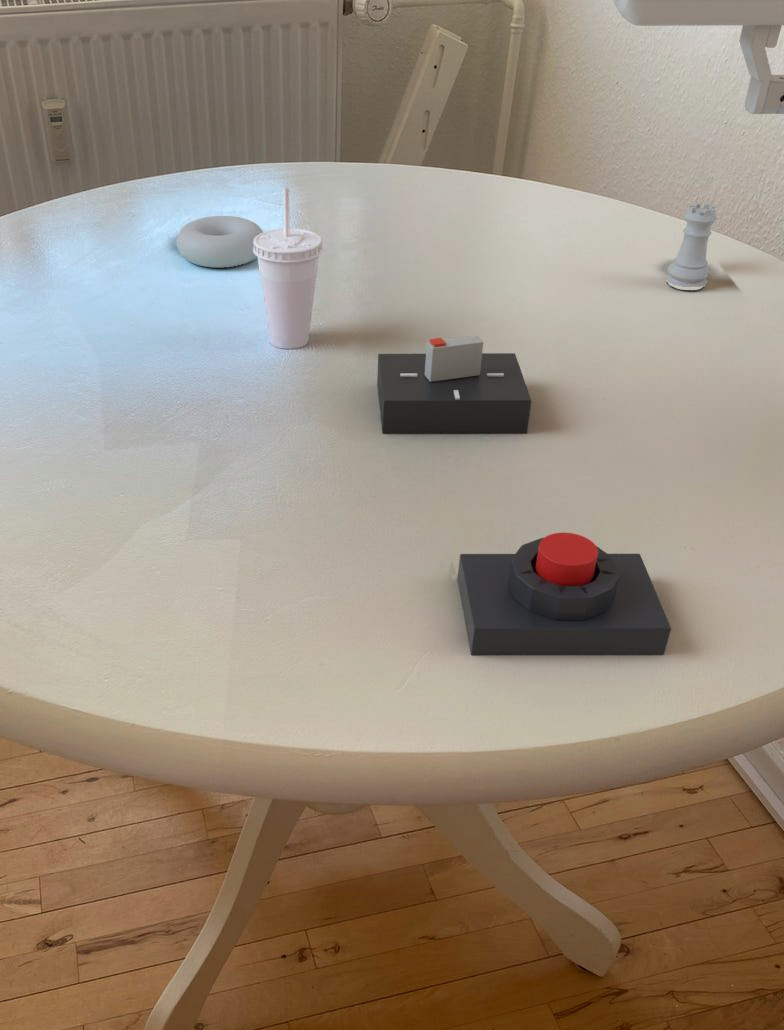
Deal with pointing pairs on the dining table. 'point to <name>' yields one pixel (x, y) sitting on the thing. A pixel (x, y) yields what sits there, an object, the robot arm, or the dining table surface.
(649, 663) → the dining table surface
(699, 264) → the rook chess piece
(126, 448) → the dining table surface
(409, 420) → the panel
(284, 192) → the smoothie
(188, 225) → the donut
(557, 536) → the power button
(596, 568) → the power switch
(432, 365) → the grey block
